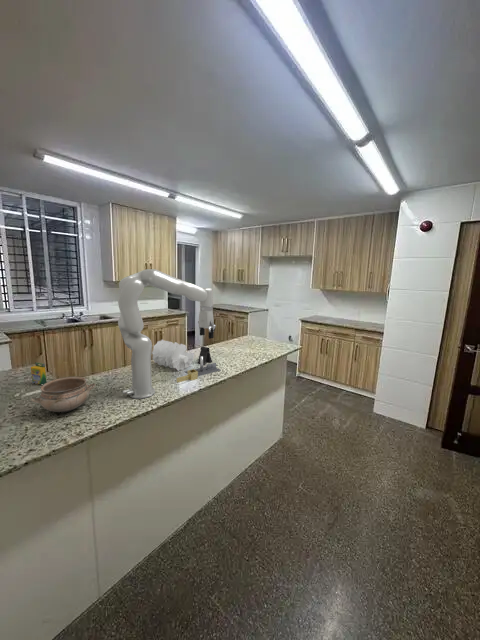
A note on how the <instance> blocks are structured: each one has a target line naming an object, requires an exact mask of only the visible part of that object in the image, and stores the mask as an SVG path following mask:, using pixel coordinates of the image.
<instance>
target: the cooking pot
mask: <svg viewBox="0 0 480 640" xmlns="http://www.w3.org/2000/svg"><path fill="white" fill-rule="evenodd" d="M87 381H88V379H86V378H85V377H83V376H67V377H60V378H56V379H53V380H49V381H47V383H45V384H43V385H40V390H41V392H40V396H39V397H35V398H34V397H33V398H31V399H30V401H31V402H32V403H36V404H40V405H41V406H42V408H43V409H45V410H47V411H50V412H53V413H60V412H61V414H63V413H64V412H65V413H69V412H72V411H74V410H75V409H77V408H78V407H80V406H81V405H83V404H85V402H86V401H87V400H88V398H89V395H90V391H91V390H93V389H94V388H95V387H96V383H94V382H93V383H91V384H87Z"/></svg>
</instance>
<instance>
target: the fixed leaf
mask: <svg viewBox="0 0 480 640" xmlns="http://www.w3.org/2000/svg"><path fill="white" fill-rule="evenodd" d="M199 365H200V367H199V368H200V372H203V367H204V365H203V356H200V364H199ZM206 366H207V369H206V370H208V371H209V370H213V369H217V368H218V367H217V362H212V363H208V364H206Z"/></svg>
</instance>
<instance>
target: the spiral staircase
mask: <svg viewBox="0 0 480 640" xmlns="http://www.w3.org/2000/svg"><path fill="white" fill-rule="evenodd" d="M187 350H188V349H187V345H186V344H183V343H178V342H176V341H175V342H172V341H169V340H164V339H163V338H162V339H161V340H158V341H156V343H155V344H154V345H152V351H151V355H152V361H153V362H154V364H156V363H157V364H158V365H159V366H161V367H162V366H163V367H165V368H168V367H169V368H170V369H171V370H172V369H175V370H177V371H178V372H180V371H184V370H185V369H187V368H188V367H190V365H191V364H192V362H193V360H194V355H195V352H189V351H187Z"/></svg>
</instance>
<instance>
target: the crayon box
mask: <svg viewBox="0 0 480 640" xmlns="http://www.w3.org/2000/svg"><path fill="white" fill-rule="evenodd" d="M34 364H35V365H34V366H31V367H30V373H31V381H32V384H33V383H37V384H36V385H38V384H45V383H47V382H48V381H47V380H48V379H47V373H46V363H42V362H35V363H34Z"/></svg>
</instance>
